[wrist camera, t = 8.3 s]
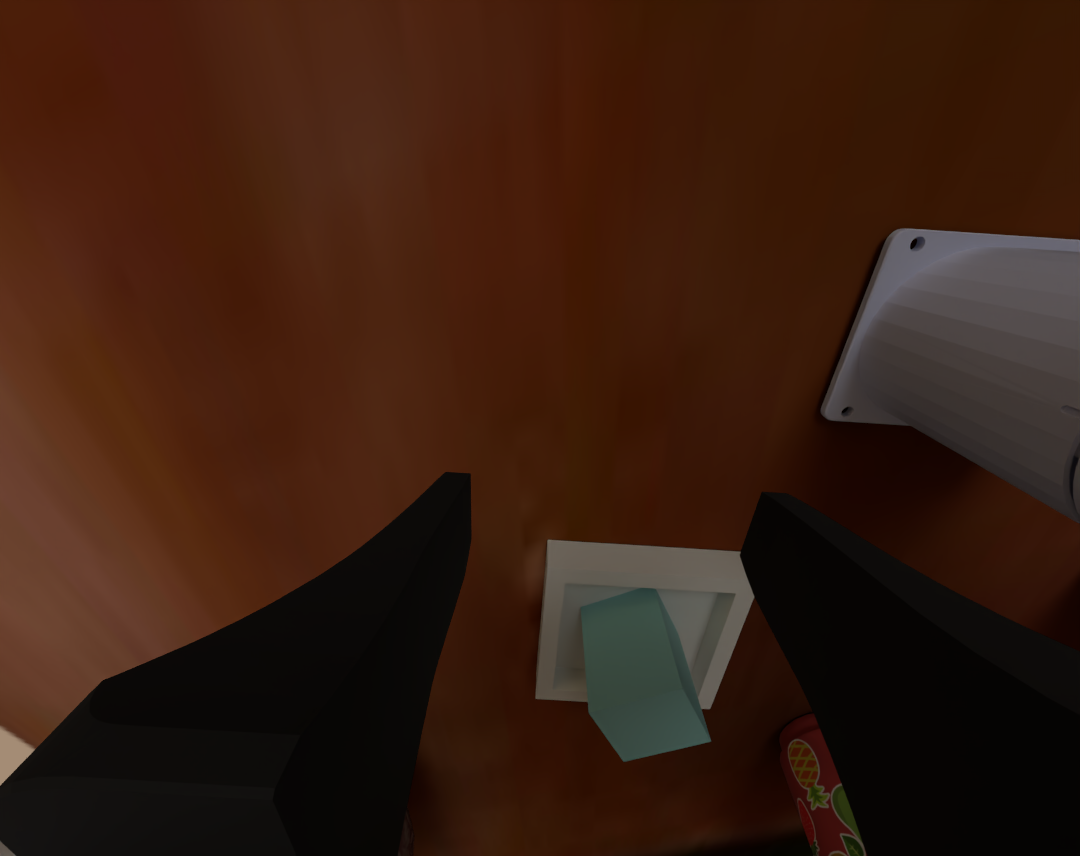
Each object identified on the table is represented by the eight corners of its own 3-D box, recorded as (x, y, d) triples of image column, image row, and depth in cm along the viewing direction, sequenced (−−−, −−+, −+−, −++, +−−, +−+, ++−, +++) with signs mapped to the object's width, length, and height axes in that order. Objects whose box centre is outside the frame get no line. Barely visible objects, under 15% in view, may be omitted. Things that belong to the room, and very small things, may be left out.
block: (653, 583, 24) (682, 688, 19) (678, 632, 26) (711, 741, 21) (580, 607, 25) (588, 712, 20) (609, 653, 27) (623, 761, 22)
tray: (744, 552, 24) (760, 580, 22) (699, 676, 29) (710, 709, 27) (547, 539, 24) (547, 567, 22) (536, 667, 29) (535, 698, 27)
